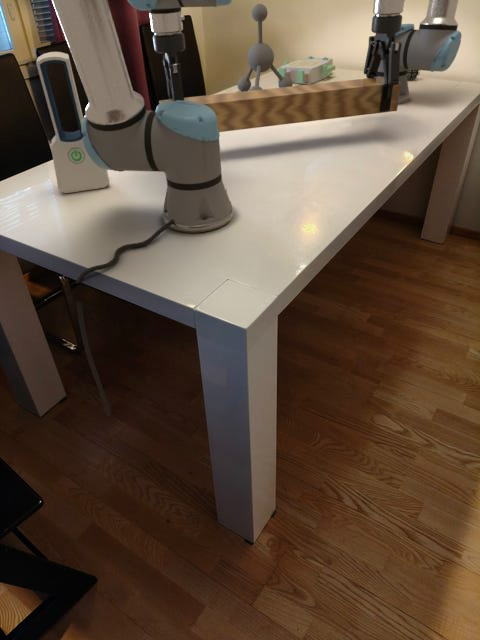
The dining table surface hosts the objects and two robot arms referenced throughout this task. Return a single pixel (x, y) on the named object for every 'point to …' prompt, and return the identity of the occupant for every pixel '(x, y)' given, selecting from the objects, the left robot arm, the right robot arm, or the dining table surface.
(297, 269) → the dining table surface
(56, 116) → the electronic device
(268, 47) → the molecular model
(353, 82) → the long wooden beam
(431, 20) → the right robot arm
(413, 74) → the grenade
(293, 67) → the clip lid food container
